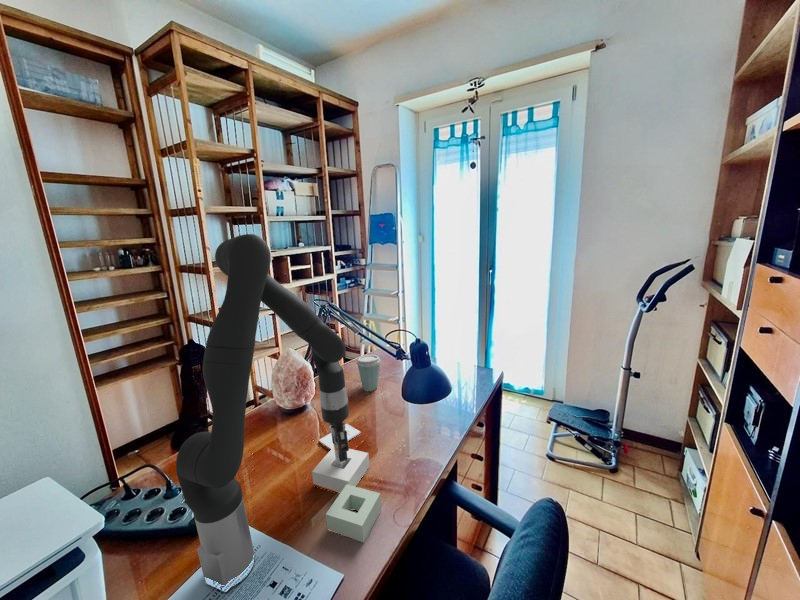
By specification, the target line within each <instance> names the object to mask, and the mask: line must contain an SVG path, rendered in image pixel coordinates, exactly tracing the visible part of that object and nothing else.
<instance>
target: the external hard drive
mask: <svg viewBox="0 0 800 600" xmlns="http://www.w3.org/2000/svg"><path fill="white" fill-rule="evenodd" d="M345 427H346V428H345V430H346V431H347V440H348V441H349V440H351V439H352V438H354V437H356V436H357V435H359V434H360V433H361V430H359V429H357V428H355V427H354V426H352V425H350V424H349V423H345ZM361 434H362V433H361ZM361 434H360V435H361ZM360 435H359V436H360ZM357 437H358V436H357ZM357 437H356V438H357ZM354 439H355V438H354ZM318 441H320V442H321V443H322V444H324V445H325V446H327V447H328V448H330V449H332V448H333V447H334V444H333V441H332V433H331V432H330V433H328V434H326V435H325V436H323V437H321V438H319V439H317V442H318ZM351 441H352V440H351Z"/></svg>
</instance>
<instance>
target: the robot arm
mask: <svg viewBox="0 0 800 600" xmlns="http://www.w3.org/2000/svg"><path fill="white" fill-rule="evenodd" d="M268 245H269V244H267V242H266V241H265V240H264V239H263V238H262V237H261V236H259V235H257V234H253V233H250V234H249V233H245V234H240V235H237V236H234V237H232V238H229V239H226V240H224V241H223V242H221V243H220V244H219V245H218V246H217V248H216V250H215V254H214V260H215V263H216V267H218V269H219V270H220V271H221V272H222V273H223V274H225V276H227V280H226V281H227V283H226V291H225V293H224V294H225V295H224V298H223V301H222V304H221V306H220V308H219V309H218V310H219V311H218V312H217V315H216V316H215V319H214V321H213V322H212V325H211V328H210V330H209V333H208V335H207V338H206V343H205V347H204V353H203V360H202V375H203V380H204V385H205V388H206V391H207V394H208V398H209V401H210V404H211V405H210V406H211V410H212V424H211V430H210V431H211V432H210V431H199V432H195V433H193V434H192V435H191V436H189V437H188V438H187V439H186V440H185V441H184V442H183V443H182V444H181V446H180V448H179V449H178V452H177V456H176V460H175V472H176V476H177V480H178V482H179V486H180V490H181V492H182V495H183V499H184V502H185V504H186V505H187V507H188V509H190V511H191V512H192V514H193V518H194V521H195V522H194V523H195V526H196V530H197V534H198V539H199V543H200V545H199V546H198V547H197V548H196V550H197V554H198V555H197V556H198V559H199V563H200V567H201V571H202V575H203V578H204V577H206V578H209V579H211V580H213V581H216V582H218V583H219V584H221V585H226V584H227V583H228V581H230V580H231V579H233V578H235V577H237V576H238V575H240V574H241V573H242V572H243V571H244V570H245V569H246V568H247V567H248V566H249V564H250V563H251V561H252V559H253V555H254V554H255V549H254V544H253V540H252V535H251V530H250V526H249V520H248V515H247V511H246V505H245V499H244V494H243V490H242V489H243V488H242V486H241V484H240V482H239V480H237V479H236V478H235V477H236V475H237V474H238V472H239V470H240V467H241V464H242V461H243V457H244V451H245V450H244V448H245V434H246V433H245V430H246V429H245V428H246V427H245V426H246V413H247V411H246V409H247V401H248V392H249V383H250V377H251V371H252V366H253V358H254V353H255V346H256V336H257V331H258V330H257V329H258V322H259V316H260V309H261V303H263V304H264V305H265V307H266V306H267V308H268V309H270V310H271V311H272V312H273V313H274V314H275V315H276V316H277V317H278V318H279V319H280V320H281V321H282V322H283V323H284V324H285V325H286V326H287V327H289V328H290V330H291V331H292V332H293V333H294V334H295V335H296V336H297V337H299V338H300V339H301V340H303V341H305V342H306V343H307V344H308V345H309V346H310V352H311V356H312V359H313V363H314V366H315V369H316V372H317V376H318V384H319V387H318V388H319V402H320V409H321V417H322V420H323V421H324V422H325V423H328V428H329V431H330V433H332V441H333V444H335V443H337V450H338V454H339V460H340V462H343V461H346V460H347V451H349V449H350V448H349V444H348V443H349V442H348V440H347V431H346V430H345V428H346V427H345V424H346V423H345V422H344V421H345V420H347V419H348V418H349V415H350V409H349V398H348V391H347V386H346V380H345V379H346V378H345V372H344V369H343V367H342V366H341V364H340V362H339V361H341V360H342V359H343V358H344V357H345V354H346V350H347V349H346V344H345V342H344V340H343V339H342V338H341V337H340V336H339V335H338V333H336V332H335V331H334V330H333V329H331V328H330V327H329V326H328V325H327V324H326V323H325V322H323V320H322V319H321V318H320V317H319V315H317V313H316V312H315V311H314V310H313V309H312V308H311V307H310V306H309V304H308V303H306V301H304V300H303V299H302V298H300V297H299V296H298V295H297V294H295V293H294V292H292V291H291V290H289V289H288V288H286V287H285V286H283V285H282V284H281V283H279V282H278V281H277V280H276V279H275V278H273V277H272V276H271V275H270V274H269V271H270V266H271V263H272V262H271V261H272V260H271V259H272V258H271V256H272V254H271V250H270V247H269V246H268ZM341 445H342V446H341Z"/></svg>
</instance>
